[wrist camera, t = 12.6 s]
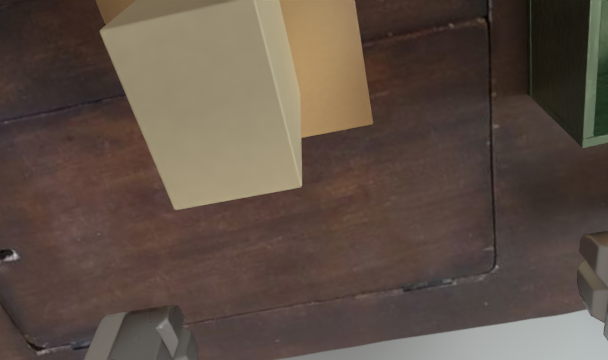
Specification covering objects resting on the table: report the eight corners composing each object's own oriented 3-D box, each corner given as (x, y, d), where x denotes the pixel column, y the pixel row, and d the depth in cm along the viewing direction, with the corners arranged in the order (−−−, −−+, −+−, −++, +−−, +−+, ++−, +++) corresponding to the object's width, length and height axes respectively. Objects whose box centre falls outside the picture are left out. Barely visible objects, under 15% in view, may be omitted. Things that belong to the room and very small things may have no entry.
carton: (268, -48, 23) (254, -5, 15) (300, 94, 26) (302, 187, 19) (162, -24, 23) (97, 30, 16) (209, 113, 27) (174, 211, 19)
